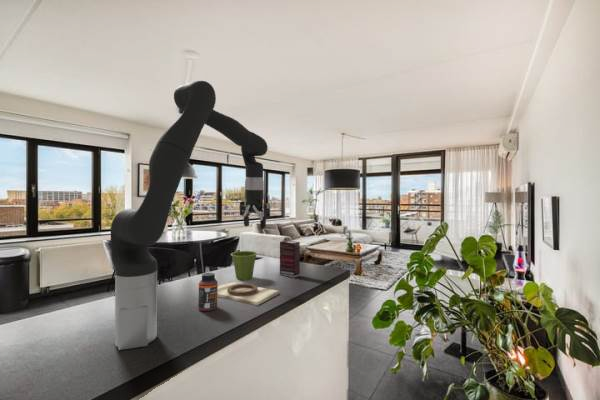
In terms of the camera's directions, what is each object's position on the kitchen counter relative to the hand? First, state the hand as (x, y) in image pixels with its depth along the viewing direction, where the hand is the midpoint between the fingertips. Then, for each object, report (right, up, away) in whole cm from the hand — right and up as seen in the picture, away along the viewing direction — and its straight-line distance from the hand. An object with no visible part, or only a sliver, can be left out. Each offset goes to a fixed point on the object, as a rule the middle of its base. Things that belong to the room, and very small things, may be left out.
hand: (254, 227), depth 119 cm
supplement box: (+14, -24, +17) cm, 33 cm away
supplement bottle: (-11, -24, -25) cm, 36 cm away
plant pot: (-7, -24, +11) cm, 28 cm away
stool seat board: (-3, -24, -10) cm, 26 cm away
